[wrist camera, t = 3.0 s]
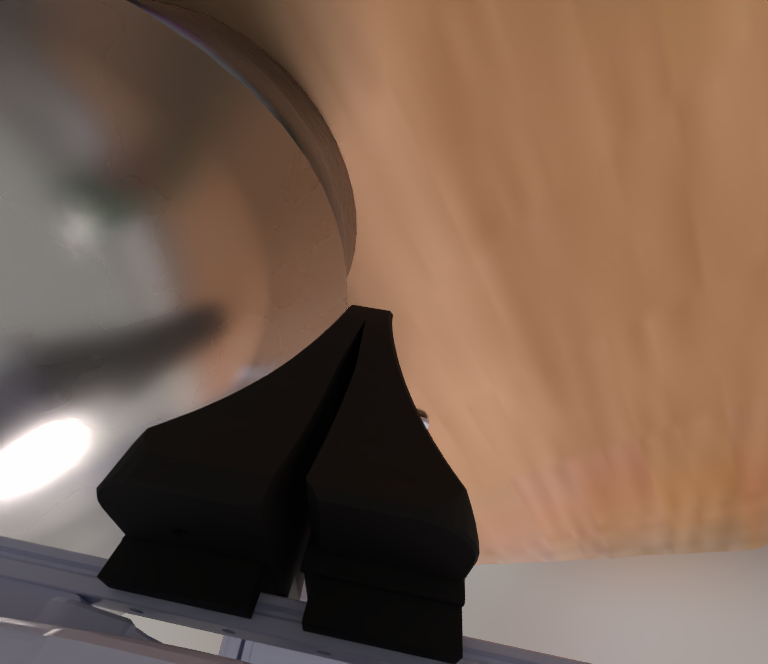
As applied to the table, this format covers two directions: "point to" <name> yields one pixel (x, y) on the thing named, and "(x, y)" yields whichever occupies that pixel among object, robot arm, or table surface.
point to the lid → (136, 251)
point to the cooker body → (272, 103)
